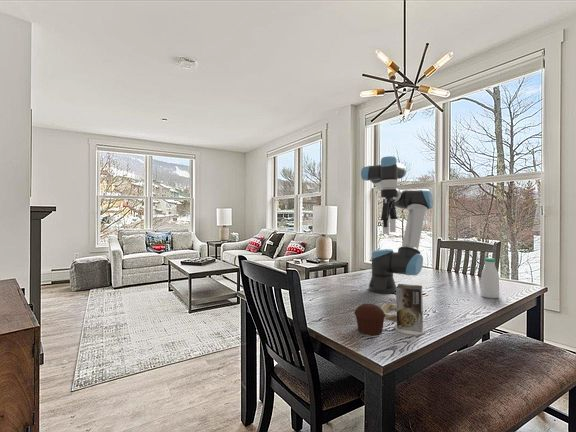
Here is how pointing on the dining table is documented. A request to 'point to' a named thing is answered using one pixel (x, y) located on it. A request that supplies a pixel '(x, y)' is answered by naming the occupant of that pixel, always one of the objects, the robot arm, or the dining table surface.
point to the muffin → (369, 319)
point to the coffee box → (409, 307)
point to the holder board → (387, 308)
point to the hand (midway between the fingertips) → (389, 233)
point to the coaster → (410, 331)
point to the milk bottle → (490, 279)
